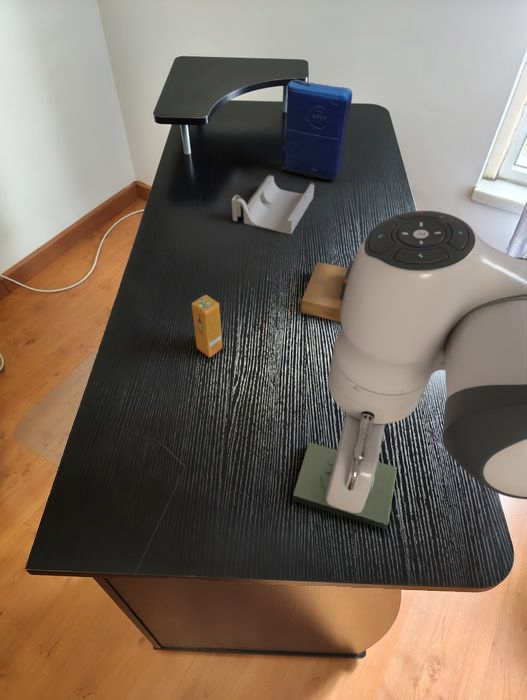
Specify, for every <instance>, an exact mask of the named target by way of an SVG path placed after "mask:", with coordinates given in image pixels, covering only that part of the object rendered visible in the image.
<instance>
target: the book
mask: <svg viewBox="0 0 527 700" xmlns="http://www.w3.org/2000/svg"><path fill="white" fill-rule="evenodd" d="M286 92H287V93H286V94H287V95H286V115H285V118H286V119H285V134H284V135H285V136H284V137H285V144H284V146H283V149H282V154H281V170H283V171H285V172H288V173H293V174H297V175H300V176H304V177H307V178H308V177H309V178H315V179H320V180H325V181H337V180H338V178H339V177H340V176H341V173H342V168H343V163H344V157H345V155H344V154H345V149H346V141H347V133H348V127H349V121H350V113H351V107H352V100H353V91H352V89H351V88H348V87H344V86H333V85H328V84H321V83H314V82H309V81H306V80H305V81H304V80H299V79H293V80H290V81H289V82H288V83H287V85H286Z"/></svg>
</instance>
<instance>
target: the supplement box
mask: <svg viewBox="0 0 527 700" xmlns="http://www.w3.org/2000/svg"><path fill="white" fill-rule="evenodd" d="M220 309H221V308H220V302H219V301H216V300H215V299H213V298H212V297H211V296H209V295H207V294H204V295H203V296H201V297H199V298H198V299H196V300H194V301H192V302H191V311H192V318H193V326H194V327H193V329H194V336H195V346H196V349H197V350H198V351H200V352H201V353H203V354H204V355H206V357H208V358H211V357H213V356H214V355H215V354H217V353H218V352H219V351H220V350H222V349H223V348H224V347H223V336H222V323H221V312H220Z"/></svg>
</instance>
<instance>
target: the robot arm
mask: <svg viewBox="0 0 527 700" xmlns="http://www.w3.org/2000/svg"><path fill="white" fill-rule="evenodd" d="M353 261H354V262H353V264H352V267H351V270H350V274H349V277H348V281H347V285H346V288H345V293H344V297H343V302H342V307H341V315H340V319H341V322H340V326H341V328H340V330H339V331H338V333H337V335H336V337H335V341H334V345H333V350H332V356H331V359H330V360H331V361H330V366H329V370H328V376H327V384H328V390H329V393H330V396H331V397H332V399H333V400H334V402H335V404H337V406H338V407H339V408H340V409H341V410H342V411H343V412H345V416H344V421H343V425H342V429H341V432H340V437H339V442H338V445H337V449H336V450H337V452H336V456H335V460H334V464H333V468H332V472H331V476H330V480H329V484H328V488H327V492H326V502H327V503H328V504H329V505H331V506H333V507H336V508H339V509H342V510H345V511H348V512H353V513H360V512H361V511H362V510H363V508H364V505H365V503H366V500H367V497H368V495H369V492H370V489H371V486H372V483H373V480H374V477H375V473H376V469H377V465H378V462H379V459H380V455H381V448H382V444H383V438H384V434H385V433H384V432H385V427H386V425H387V424H393V423H397V422H399V421H402V420H404V419H406V418H407V417H409V416H410V415H412V413H414V412H415V410H416V409H417V407H418V405H419V404H420V401H421V399H422V397H423V395H424V392H425V390H426V388H427V386H428V383H429V381H430V379H431V377H432V375H433V374H434V373H436V372H438V371H444V372H445V389H446V390H445V391H446V392H445V393H446V399H445V402H444V413H443V429H442V444H443V447H444V449H445V450H446V452H447V453H448V455H450V457H451V458H452V459H453V460H454V461H455V462H456V464H458V465H459V466H460V467H461V468H462V469H463V470H464V471H465V472H466V473H467V474H468V475H469V476H471V477H472V478H473V479H474V480H476V481H477V482H478V483H480V484H481V485H483V486H484V487H486V488H487V489H489V490H491V491H492V492H494V493H496V494H499V495H501V496H505V497H508V498H512V499H518V500H527V258H526V257H515V256H512V255H509V254H507V253H505V252H503V251H501V250H499V249H496V248H495V247H493V246H492V245H490V244H489V243H487V242H485V241H484V240H483V239H481V237H480V236H479V235H478V234H477V232H476V231H475V230H474V229H473V227H472V226H471V225H470V224H468V223H467V222H466V221H464V220H463V219H461V218H460V217H457V216H454V215H452V214H449V213H446V212H441V211H436V210H435V211H434V210H413V211H406V212H402V213H399V214H396V215H393V216H391V217H389V218H387V219H385V220H383V221H381V222H380V223H379V224H377V225H376V226H375V227H374V228H373V229H372V230H370V231H369V233H368V234H367V235H366V237H365V238H364V239H363V241H362V243H361V244H360V246H359V249H358V250H357V253H356V255H355V257H354V259H353Z"/></svg>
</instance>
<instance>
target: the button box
mask: <svg viewBox="0 0 527 700" xmlns="http://www.w3.org/2000/svg"><path fill="white" fill-rule="evenodd" d="M336 452H337V449H334V448H331V447H327V446H325V445H324V446H323V445H321V444H320V445H319V444H316V443H313V442H308V443H307V447H306V450H305V454H304V457H303V460H302V463H301V468H300V469H299V470H300V471H299V474H298V478H297V481H296V484H295V487H294V491H293V494H292V501H293V502H296V503H299V504H301V505H302V504H303V505H304V506H309V507H312V508H315V509H318V510H321V511H325V512H327V513H331V514H334V515H338V516H341V517H344V518H346V519H350V520H354V521H356V522H359V523H362V524H363V523H364V524H367V525H370V526H373V527H376V528H379V529H382V530H386V529H387V527H388V525H389V520H390V515H391V509H392V502H393V495H394V490H395V482H396V477H397V469H398V466H394V465H391V464H387V463H384V462H380V461H378V465H377V469H376V473H375V477H374V480H373V483H372V486H371V489H370V492H369V495H368V497H367V500H366V503H365V505H364V508H363V510H362V511H361V512H360V513H353V512H348V511H345V510H342V509H339V508H336V507H333V506H331V505H329V504H328V503H327V502H326V492H327V488H328V484H329V480H330V476H331V472H332V468H333V464H334V460H335V456H336Z"/></svg>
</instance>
